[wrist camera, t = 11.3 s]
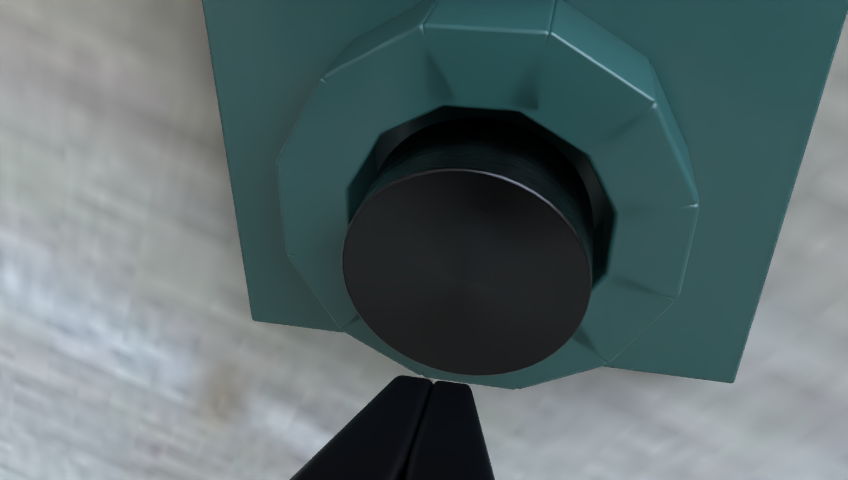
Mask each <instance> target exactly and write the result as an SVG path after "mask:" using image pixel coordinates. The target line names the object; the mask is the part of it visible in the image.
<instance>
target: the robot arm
mask: <svg viewBox="0 0 848 480" xmlns="http://www.w3.org/2000/svg"><path fill="white" fill-rule="evenodd" d="M290 480H495V478H494V475H493V471H492V467H491V463H490V459H489V455H488V451H487V448H486V444H485V440H484V436H483V432H482V428H481V425H480V421H479V417H478V413H477V409H476V405H475V402H474V398H473V394H472V390H471V388H470V387H469V386H468V385H466V384H461V383H454V382H447V381H437V382H435V384H434V385H433V383H432V381H430V380H429V379H425V378H418V377H411V376H404V375H401V376H398V377H396V378H394V379H393V380H392V381H391V382H390V383H389V384H388V385H387V386H386V387H385V388H384V389H383V390H382V391H381V392H380V393H379V394H378V395H377V396H376V397H375V398H374V399H373V400H372V401H371V402H370V403H368V404H367V405H366V406H365V407H364V408H363V409H362V410H361V411H360V412H359V413H358V414H357V415H356V416H355V417H354V418H353V419H352V420H351V421H350V422H349V423H348V424H347V425H346V426H345V427H344V428H343V429H342V430H341V431H340V432H338V433H337V434H336V435H335V436H334V437H333V438H332V439H331V440H330V441H329V442H328V443H327V444H326V445H325V446H324V447H323V448H322V449H321V450H320V451H319V452H318V453H317V454H316V455H315V456H314V457H313V458H312V459H311V460H310V461H309V462H307V463H306V464H305V465H304V466H303V467H302V468H301V469H300V470H299V471H298V472H297V473H296V474H295V475H294V476H293V477H292V478H291V479H290Z"/></svg>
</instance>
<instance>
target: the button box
mask: <svg viewBox="0 0 848 480" xmlns="http://www.w3.org/2000/svg"><path fill="white" fill-rule="evenodd" d="M202 3H203V10H204V16H205V22H206V29H207V35H208V41H209V48H210V54H211V60H212V67H213V73H214V79H215V86H216V92H217V98H218V105H219V111H220V117H221V124H222V130H223V136H224V143H225V149H226V155H227V162H228V168H229V174H230V181H231V187H232V193H233V200H234V206H235V212H236V219H237V225H238V231H239V238H240V244H241V250H242V257H243V263H244V269H245V276H246V282H247V288H248V295H249V301H250V307H251V314H252V319H253V320H254V321H260V322H267V323H275V324H283V325H290V326H298V327H305V328H313V329H321V330H328V331H336V332H344V333H347V334H349V335H350V336H352V337H354V338H356V339H357V340H359V341H361V342H363V343H364V344H366V345H368V346H369V347H371V348H373V349H375V350H376V351H378V352H380V353H382V354H383V355H385V356H387V357H389V358H390V359H392V360H394V361H396V362H397V363H399V364H401V365H403V366H404V367H406V368H408V369H409V370H411V371H413V372H415V373H416V374H418V375H423V376H424V377H427V378H434V379H441V380H448V381H455V382H463V383H470V384H477V385H484V386H492V387H499V388H506V389H516V388H518V389H521V388H525V387H529V386H532V385H536V384H540V383H543V382H547V381H551V380H554V379H558V378H562V377H565V376H569V375H573V374H576V373H580V372H584V371H587V370H591V369H595V368H598V367H602V366H604V367H611V368H619V369H627V370H634V371H642V372H649V373H657V374H665V375H672V376H680V377H688V378H695V379H703V380H711V381H718V382H726V383H733V382H734V380H735V377H736V374H737V371H738V367H739V364H740V361H741V358H742V354H743V351H744V348H745V345H746V341H747V338H748V335H749V331H750V328H751V325H752V322H753V318H754V315H755V312H756V309H757V305H758V302H759V299H760V295H761V292H762V289H763V286H764V282H765V279H766V276H767V273H768V269H769V266H770V263H771V259H772V256H773V253H774V250H775V246H776V243H777V240H778V237H779V233H780V230H781V227H782V223H783V220H784V217H785V214H786V210H787V207H788V204H789V201H790V197H791V194H792V191H793V188H794V184H795V181H796V178H797V174H798V171H799V168H800V165H801V161H802V158H803V155H804V152H805V148H806V145H807V142H808V138H809V135H810V132H811V129H812V125H813V122H814V119H815V116H816V112H817V109H818V106H819V102H820V99H821V96H822V93H823V89H824V86H825V83H826V80H827V76H828V73H829V70H830V67H831V63H832V60H833V57H834V53H835V50H836V47H837V44H838V40H839V37H840V34H841V31H842V27H843V24H844V21H845V17H846V14H847V11H848V0H202ZM459 118H488V119H495V120H501V121H505V122H508V123H512V124H515V125H518V126H520V127H523V128H525V129H528V130H530V131H532V132H534V133H535V134H537V135H539V136H541V137H543V138H544V139H545V140H547V141H548V142H549V143H551V144H552V145H554V146H555V147H556V148H557V149H558V150H559V151H560V152H561V153H562V154H563V155H565V156H566V157H567V159H568V160H569V161H570V162H571V164H572V165H573V166H574V167H575V169H576V170H577V172H578V174H579V175H580V177H581V179H582V180H583V182H584V185H585V187H586V189H587V192H588V194H589V198H590V202H591V206H592V215H593V256H592V291H591V298H590V302H589V306H588V309H587V312H586V314H585V317H584V319H583V321H582V323H581V324H580V326H579V328H578V329H577V331H576V332H575V333H574V335H573V336H572V337H571V338H570V339H569V340H568V342H567V343H566V344H565V345H564V346H562V347H561V348H560V349H559V350H558V351H557V352H556V353H554V354H553V355H551V356H549V357H548V358H546V359H545V360H543V361H541V362H539V363H537V364H535V365H533V366H531V367H528V368H525V369H522V370H519V371H516V372H511V373H507V374H501V375H493V376H467V375H458V374H452V373H447V372H443V371H439V370H436V369H432V368H429V367H427V366H424V365H422V364H419V363H417V362H415V361H413V360H411V359H409V358H407V357H405V356H403V355H401V354H400V353H398V352H397V351H395V350H394V349H392V348H391V347H389V346H388V345H387V344H386V343H384V342H383V341H382V340H381V339H379V338H378V337H377V336H376V335H375V334H374V333H373V332H372V331H371V330H370V329H369V327H368V326H367V325H366V324H365V322H364V321H363V320H362V319H361V317H360V316H359V314H358V312H357V311H356V309H355V308H354V306H353V304H352V302H351V299H350V297H349V295H348V292H347V289H346V286H345V282H344V278H343V271H342V249H343V242H344V238H345V235H346V232H347V229H348V226H349V224H350V223H351V221H352V219H353V217H354V215H355V213H356V211H357V209H358V208H359V206H360V204H361V202H362V200H363V198H364V197H365V195H366V193H367V191H368V189H369V187H370V185H371V184H372V182H373V180H374V178H375V176H376V174H377V173H378V171H379V169H380V167H381V165H382V163H383V162H384V161H385V159H386V158H387V157H388V155H389V154H390V153H391V152H392V151H393V150H394V149H395V148H396V147H397V146H398V145H399V144H400V143H401V142H402V141H403V140H405V139H406V138H407V137H409V136H410V135H412V134H413V133H415V132H417V131H419V130H421V129H423V128H425V127H427V126H430V125H433V124H435V123H438V122H442V121H447V120H451V119H459Z"/></svg>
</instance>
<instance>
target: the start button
mask: <svg viewBox="0 0 848 480" xmlns="http://www.w3.org/2000/svg"><path fill="white" fill-rule="evenodd" d="M592 256H593V215H592V206H591V202H590V198H589V194H588V192H587V189H586V187H585V185H584V182H583V180H582V179H581V177H580V175H579V174H578V172H577V170H576V169H575V167H574V166H573V165H572V164H571V162H570V161H569V160H568V159H567V157H566V156H565V155H563V154H562V153H561V152H560V151H559V150H558V149H557V148H556V147H555V146H554V145H552V144H551V143H549V142H548V141H547V140H545V139H544V138H543V137H541V136H539V135H537V134H535V133H534V132H532V131H530V130H528V129H525V128H523V127H520V126H518V125H515V124H512V123H508V122H505V121H501V120H495V119H488V118H459V119H451V120H447V121H442V122H438V123H435V124H433V125H430V126H427V127H425V128H423V129H421V130H419V131H417V132H415V133H413V134H412V135H410V136H409V137H407V138H406V139H405V140H403V141H402V142H401V143H400V144H399V145H398V146H397V147H396V148H395V149H394V150H393V151H392V152H391V153H390V154H389V155H388V157H387V158H386V159H385V161H384V162H383V163H382V165H381V167H380V169H379V171H378V173H377V174H376V176H375V178H374V180H373V182H372V184H371V185H370V187H369V189H368V191H367V193H366V195H365V197H364V198H363V200H362V202H361V204H360V206H359V208H358V209H357V211H356V213H355V215H354V217H353V219H352V221H351V223H350V224H349V226H348V229H347V232H346V235H345V238H344V242H343V249H342V271H343V278H344V282H345V286H346V289H347V292H348V295H349V297H350V299H351V302H352V304H353V306H354V308H355V309H356V311H357V312H358V314H359V316H360V317H361V319H362V320H363V321H364V322H365V324H366V325H367V326H368V327H369V329H370V330H371V331H372V332H373V333H374V334H375V335H376V336H377V337H378V338H379V339H381V340H382V341H383V342H384V343H386V344H387V345H388V346H389V347H391V348H392V349H394V350H395V351H397V352H398V353H400V354H401V355H403V356H405V357H407V358H409V359H411V360H413V361H415V362H417V363H419V364H422V365H424V366H427V367H429V368H432V369H436V370H439V371H443V372H447V373H452V374H458V375H467V376H493V375H501V374H507V373H511V372H516V371H519V370H522V369H525V368H528V367H531V366H533V365H535V364H537V363H539V362H541V361H543V360H545V359H546V358H548V357H549V356H551V355H553V354H554V353H556V352H557V351H558V350H559V349H560V348H561V347H562V346H564V345H565V344H566V343H567V342H568V340H569V339H570V338H571V337H572V336H573V335H574V333H575V332H576V331H577V329H578V328H579V326H580V324H581V323H582V321H583V319H584V317H585V314H586V312H587V309H588V306H589V302H590V298H591V291H592Z"/></svg>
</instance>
